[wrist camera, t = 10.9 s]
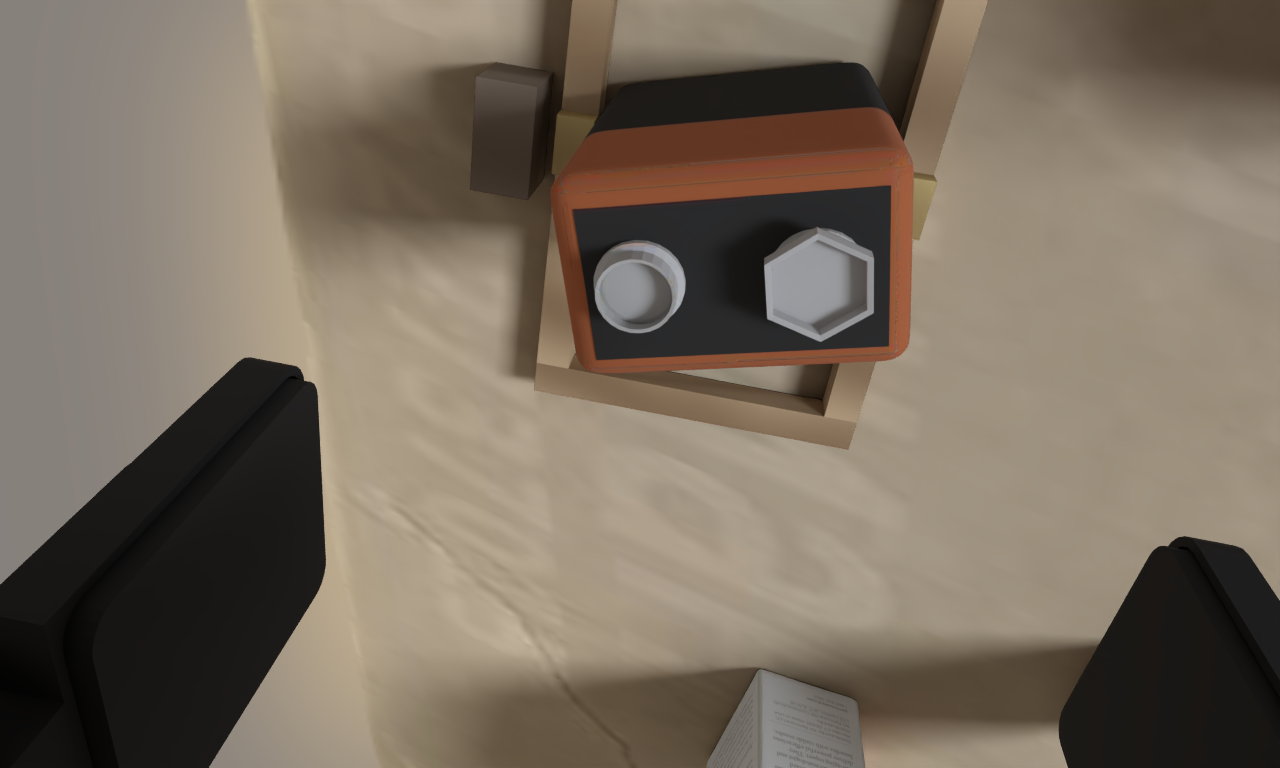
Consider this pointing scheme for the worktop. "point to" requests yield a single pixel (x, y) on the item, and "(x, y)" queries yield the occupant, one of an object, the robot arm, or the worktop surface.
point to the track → (519, 131)
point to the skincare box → (790, 728)
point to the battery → (739, 224)
